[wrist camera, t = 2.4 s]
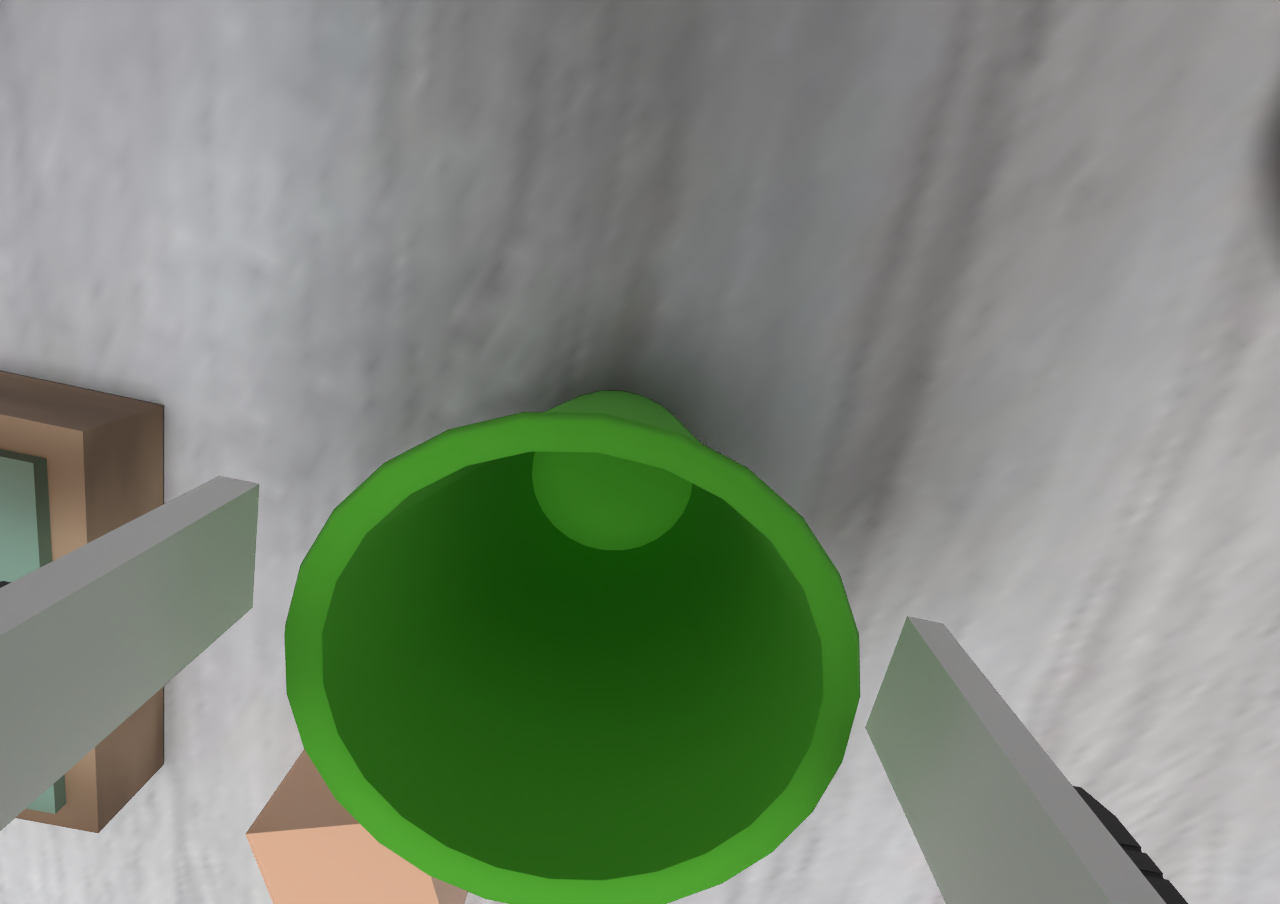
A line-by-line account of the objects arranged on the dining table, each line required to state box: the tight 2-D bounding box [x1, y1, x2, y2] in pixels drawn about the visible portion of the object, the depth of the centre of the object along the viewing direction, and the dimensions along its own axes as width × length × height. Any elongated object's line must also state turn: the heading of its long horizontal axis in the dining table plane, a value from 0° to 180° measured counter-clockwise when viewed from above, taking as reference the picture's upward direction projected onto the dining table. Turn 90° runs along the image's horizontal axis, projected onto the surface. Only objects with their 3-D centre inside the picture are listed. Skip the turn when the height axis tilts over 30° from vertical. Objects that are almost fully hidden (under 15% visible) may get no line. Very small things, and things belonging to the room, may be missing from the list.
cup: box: [285, 391, 860, 904], centre depth 15 cm, size 9×9×11 cm
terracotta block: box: [246, 749, 468, 904], centre depth 22 cm, size 5×5×5 cm
